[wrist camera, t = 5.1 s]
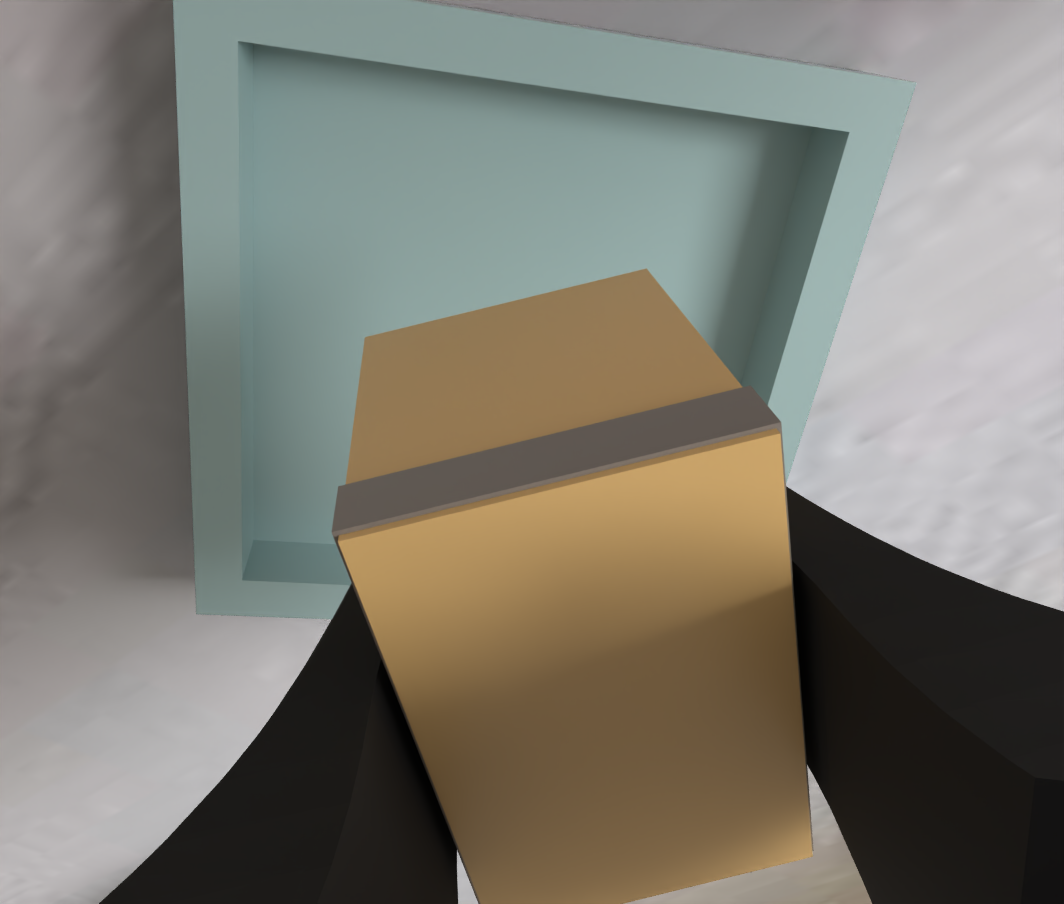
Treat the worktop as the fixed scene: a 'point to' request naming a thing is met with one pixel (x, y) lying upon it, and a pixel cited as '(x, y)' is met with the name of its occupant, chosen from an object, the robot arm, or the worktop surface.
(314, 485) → the parts tray
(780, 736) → the tan box
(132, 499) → the worktop surface
